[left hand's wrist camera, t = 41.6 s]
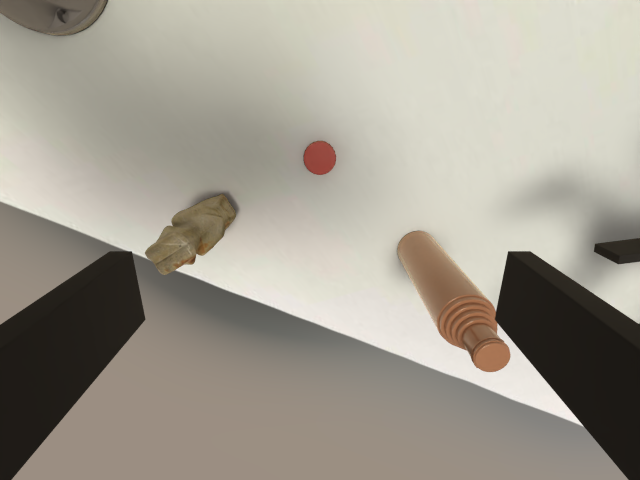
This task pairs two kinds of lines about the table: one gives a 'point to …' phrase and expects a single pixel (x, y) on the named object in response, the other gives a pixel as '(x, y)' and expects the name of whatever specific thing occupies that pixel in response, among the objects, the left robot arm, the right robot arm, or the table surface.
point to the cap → (319, 157)
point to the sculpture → (191, 234)
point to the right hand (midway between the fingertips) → (595, 322)
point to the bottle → (453, 301)
